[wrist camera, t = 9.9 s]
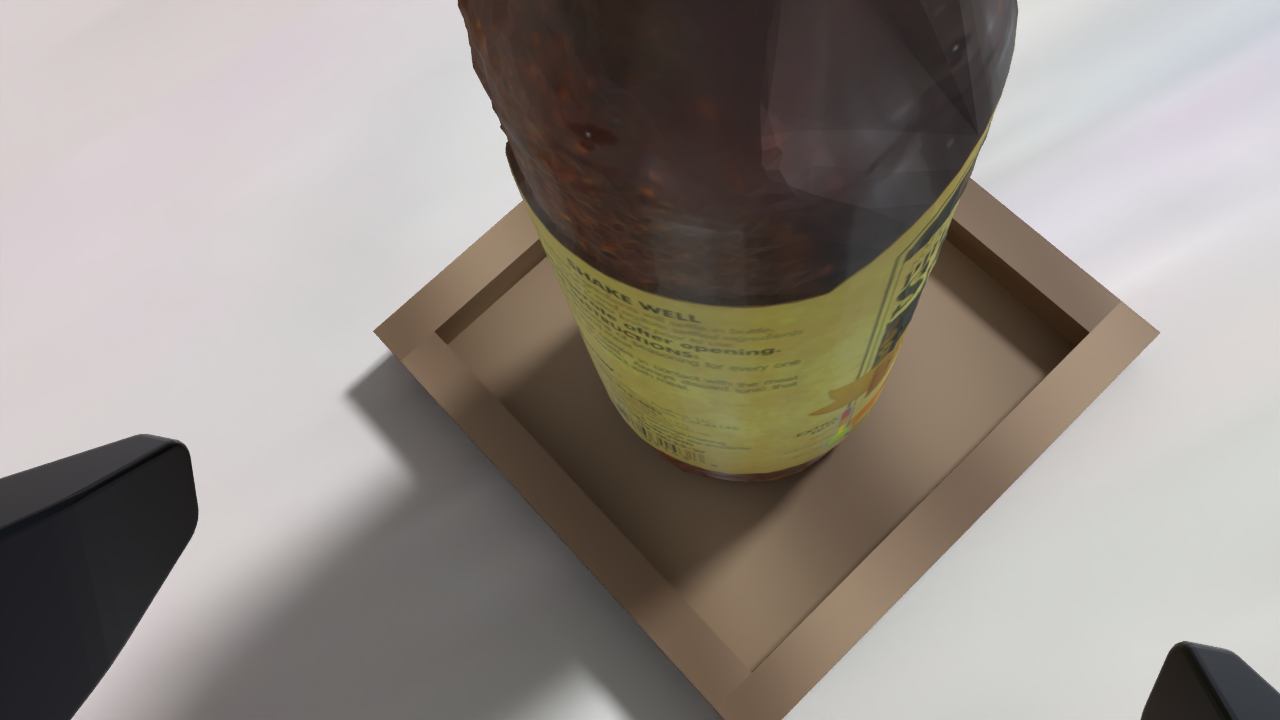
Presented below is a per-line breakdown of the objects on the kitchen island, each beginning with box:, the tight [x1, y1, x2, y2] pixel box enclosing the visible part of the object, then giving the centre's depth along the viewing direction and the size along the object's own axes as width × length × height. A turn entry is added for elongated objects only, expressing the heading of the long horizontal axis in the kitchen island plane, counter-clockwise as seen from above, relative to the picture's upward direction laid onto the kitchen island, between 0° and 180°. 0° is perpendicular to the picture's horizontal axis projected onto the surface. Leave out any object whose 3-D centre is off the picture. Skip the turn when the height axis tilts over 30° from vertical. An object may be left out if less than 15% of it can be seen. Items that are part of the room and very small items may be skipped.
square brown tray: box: [373, 178, 1160, 720], centre depth 23 cm, size 12×12×2 cm
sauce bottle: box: [458, 0, 1018, 483], centre depth 13 cm, size 7×6×20 cm
